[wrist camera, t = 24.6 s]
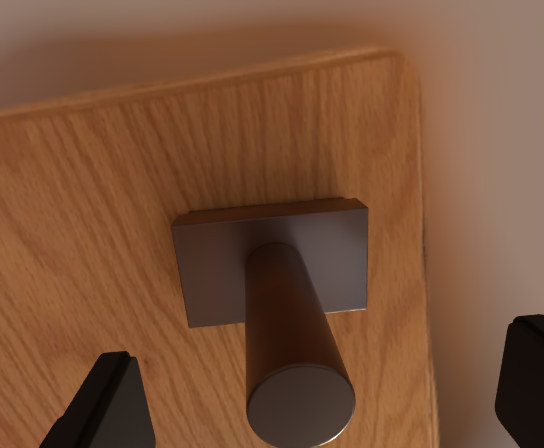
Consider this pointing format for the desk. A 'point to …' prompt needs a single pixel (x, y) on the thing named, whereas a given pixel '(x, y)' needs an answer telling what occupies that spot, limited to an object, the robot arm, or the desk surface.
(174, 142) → the desk surface
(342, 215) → the stamp
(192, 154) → the desk surface
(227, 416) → the desk surface
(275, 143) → the desk surface
